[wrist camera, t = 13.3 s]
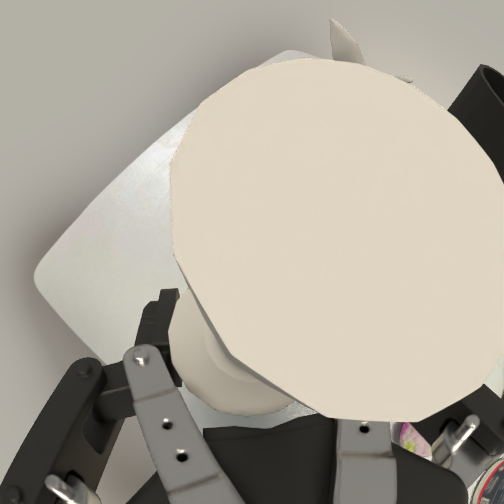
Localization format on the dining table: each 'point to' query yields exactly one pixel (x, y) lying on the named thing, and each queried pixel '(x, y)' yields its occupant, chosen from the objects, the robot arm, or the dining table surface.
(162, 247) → the dining table surface
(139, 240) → the dining table surface
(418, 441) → the decorative item
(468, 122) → the vase
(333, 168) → the bottle
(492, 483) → the supplement tub
